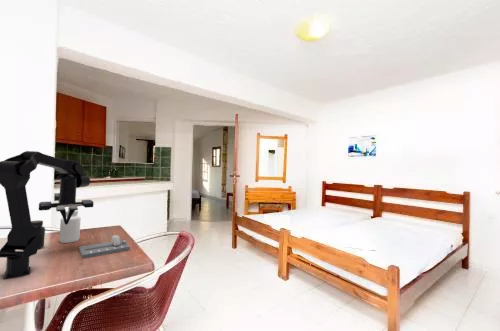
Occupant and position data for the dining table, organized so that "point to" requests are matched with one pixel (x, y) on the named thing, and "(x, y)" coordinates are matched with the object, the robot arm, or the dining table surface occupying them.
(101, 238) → the dining table surface
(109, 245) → the console
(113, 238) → the fader
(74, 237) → the pill bottle
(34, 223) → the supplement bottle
